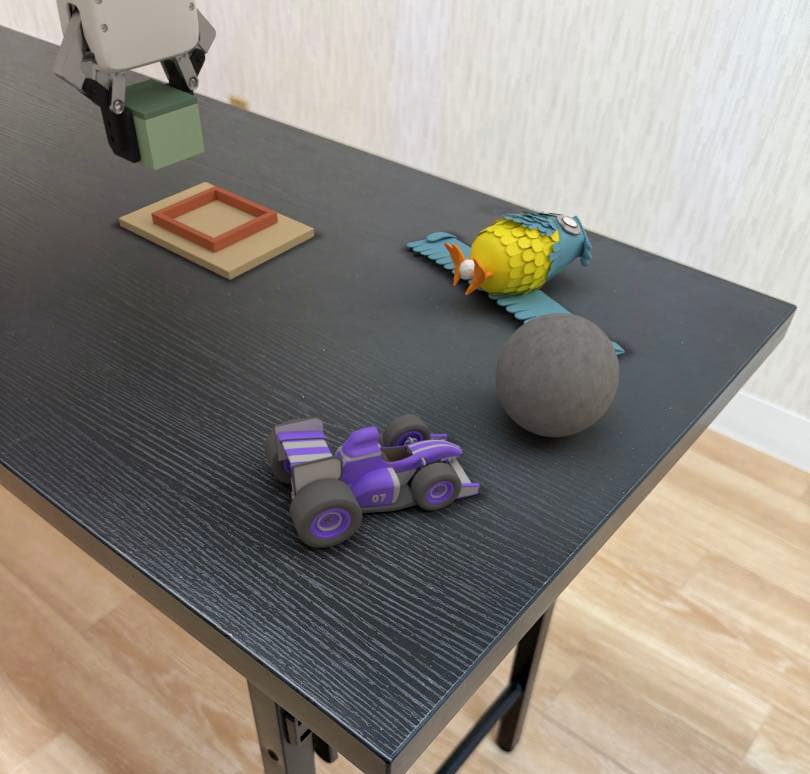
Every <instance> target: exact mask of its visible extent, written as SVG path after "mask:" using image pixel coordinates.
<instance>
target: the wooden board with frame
mask: <svg viewBox="0 0 810 774" xmlns="http://www.w3.org/2000/svg"><path fill="white" fill-rule="evenodd" d="M118 222H119V226H120V227H121V228H123V229H125V230H127V231H129V232H132V233H134V234H135V235H137V236H140V237H142V238H144V239H145V240H148V241H150V242H152V243H153V244H156V245H157V246H159V247H162V248H163V249H166V250H168V251H170V252H172V253H174V254H176V255H178V256H179V257H183V258H184V259H186V260H188V261H191V262H192V263H194V264H196V265H198V266H200V267H202V268H205V269H206V270H209V271H211V272H213V273H215V274H216V275H218V276H221V277H222V278H224V279H227V280H229V281H230V280H233V279H234V278H237V277H239V276H241V275H242V274H244V273H246V272H249V271H250V270H252V269H254V268H256V267H258V266H260V265H262V264H264V263H265V262H267V261H270V260H272V259H273V258H275V257H278V256H279V255H281V254H283V253H285V252H287V251H288V250H290V249H293V248H294V247H296V246H298V245H301V244H303V243H304V242H306V241H308V240H311V239H313V238H314V237H315V229H314V227H311V226H309V225H307V224H304V223H302V222H301V221H300V222H299V221H298V220H295V219H293V218H291V217H288V216H286V215H283V214H281V213H279V212H277V211H276V210H273V209H271V208H268V207H266V206H264V205H261V204H260V203H257V202H254V201H252V200H250V199H248V198H245V197H243V196H240V195H238V194H236V193H234V192H231V191H229V190H227V189H224V188H222V187H220V186H217V185H213V184H211V183H209V182H207V181H203V182H201V183H199V184H197V185H195V186H191V187H190V188H187V189H185V190H182V191H180V192H177V193H175V194H173V195H170V196H167V197H166V198H163V199H161V200H159V201H156V202H154V203H151V204H149V205H147V206H144V207H142V208H139V209H137V210H134V211H132V212H129V213H127V214H125V215H122V216H119V217H118Z"/></svg>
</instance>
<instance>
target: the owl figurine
mask: <svg viewBox="0 0 810 774" xmlns="http://www.w3.org/2000/svg"><path fill="white" fill-rule="evenodd" d="M501 216H503V217H501V218H499V219H497V220H494V221H493V222H492V223H491V225H488V226H487V227H485V228H484V229H482V230H481V231H479V233H478V234H476V235H475V238H474V239H473V241H472V242H471V246H469V245H468V244H465V243H464V242H462V241H460V240H459V239H458V237H457V236H456V235H454V234H452V233H449V232H445V231H436V232H432V233H430V234H428V235H426V237H425V238H423V239H420V240H416V241H412V242H408V243H406V247H407V248H410V249H412V251H413V252H415V253H420V255H423V256H427V258H428V259H429V260H432V261H435V263H436V264H437V265H441V266H443V268H444V269H446V270H449V271H451V270H452V271H451V273H452V274H453V275H454V276H453V284H452V286H453V287H455V286H456V285H457V284H458V283H459V282H460V280H463V281H468V284H469V286H468V287H467V289H466V291H465V293H464V295H465V296H469V295H470V294H471V293H473V292H474V291H476V290H479V291H482V292H486V293H488V298H489V299H491V300H497V301H496V304H497V305H498V306H501V307H505V311H506V312H508V313H510V314H514V316H513V317H514V318H515V319H517V320H519V321H522V320H523V325H524V324H525V323H527V322H528V321H530V320H532V319H534V318H537V317H539V316H542V315H546V314H551V313H568V314H572V313H571V312H570V311H569V310H567V308H565V307H563V306H562V305H561V304H560V303H558V302H557V301H555V300H554V299H552V297H550V296H549V295H547V294H546V293H545V292H543V291H542V290H540V289H541V288H542V287H543V286H544V285H545V284H546V283H549V281H550V280H551V279H552V278H554V277H556V275H558V274H559V273H560V272H561V271H563V270H564V269H565V268H566V267H568V266H569V265H571V263H573V262H574V261H575V260H576V259H577V258H580V264H581V266H582V267H584V268H585V267H588V266H589V265H590V262H589V261H590V260H591V259H592V254H591V252H590V251H591V250H592V249H593V247H592V244H591V242H590V241H589V240H590V238H589V237H588V236H587V232H586V230H585V228H584V226H583V224H582V222H581V220H580V218H579V216H578V215H574V216H572V217H571V216H570V215H565V214H563V213H555V212H548V213H545V212H544V211H539V212H538V213H534V212H531V211H529V210H522V211H521V212H519V213H507V214H501ZM610 341H611V343H612V345H613V347H614V349H615V351H616V355H617V356H620V355H623V354H625V353H626V351H625V350H624V349H623V347H621V346H620V345H619V344H618V343H617V342H615V341H612V340H610Z"/></svg>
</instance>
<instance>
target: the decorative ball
mask: <svg viewBox="0 0 810 774" xmlns="http://www.w3.org/2000/svg"><path fill="white" fill-rule="evenodd" d="M611 341H612V340H611V339H610V338H609V337H608V335H607V334H606V333H605V332H604V330H602V329H601V327H599V326H598V325H597V324H596V323H594V322H592V321H591V320H589V319H587V318H585V317H583V316H580V315H577V314H573V313H571V314H568V313H551V314H546V315H542V316H539V317H537V318H534V319H532V320H530V321H528V322H527V323H525V324H524V323H523V324H522V325H521V326H519V327H518V328H517V329H516V330H515V331H514V332H513V333H512V334H511V335H510V336H509V337H508V339H507V340H506V342H505V343H504V345H503V347H502V348H501V351H500V353H499V356H498V357H497V361H496V368H495V377H494V379H495V388H496V389H495V390H496V393H497V396H498V400H499V402H500V404H501V406H502V408H503V409H504V411H505V413H506V414H507V415H508V417H509V418H510V419H511V420H512V421H513V422H514V423H516V425H518V427H519V426H520V427H521V428H522V429H524V430H525V431H528V432H529V433H532V434H534V435H537V436H540V437H547V438H563V437H570V436H573V435H576V434H578V433H581V432H583V431H584V430H587V429H588V428H590V427H592V426H593V425H594V424H595V423H597V422H598V421H599V420H600V419H602V417H603V416H604V415H605V414H606V412H607V411H608V409H609V408H610V406H611V405H612V404H613V401H614V399H615V397H616V394H617V392H618V391H617V390H618V388H619V383H620V382H619V381H620V364H619V363H620V362H619V358H618V355H616V351H615V349H614V347H613V345H612V343H611Z"/></svg>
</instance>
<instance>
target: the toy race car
mask: <svg viewBox="0 0 810 774" xmlns="http://www.w3.org/2000/svg"><path fill="white" fill-rule="evenodd" d="M323 421H324V420H323V419H322V418H321V417H318V416H313V417H312V416H311V417H307V418H295V419H291V420H287V421H285V422H282V423H280V424H274V425H273V430H272V431H271V432H270V433H269V434H268V436H266V440H265V443H264V455H265V457H266V459H267V462H268V464H269V468H270V469H271V472H272V473H273V475H274V477H275V478H276V479H277V480H279V481H280V482H282V483H284V484H287V485H291V490H292V491H291V492H290V493H291V499H292V500H291V502H290V506H289V515H290V518H291V521H292V523H293V525H294V528H295V530H296V532H297V535H298V537H299V539H300V540H301V541H302V542H303V543H304V544H305V545H307V546H309V547H312V548H316V549H325V548H326V549H327V548H331V547H335V546H337V545H340V544H342V543H344V542H345V541H347V540H349V539H350V538H351V537H352V536H353V535H354V534H355V533H356V532H357V531H358V529H360V526H361V525H362V524H361V523H362V520H363V514H371V513H382V512H383V513H384V512H385V513H386V512H393V511H399V510H404V509H407V508H411V507H414V506H419V507H420V508H422V509H423V510H425V511H438V510H442V509H444V508H446V507H448V506H449V505H451V504H452V503H453V502H455V500H459V499H463V498H467V497H472V496H477V495H479V493H480V488H481V485H480V483H479V482H472V481H471V480H470V478H469V477H468V474H466V472H465V471H464V469H463V466H461V464H460V463H459V461H458V459H457V458H458V457H461V456H463V454H464V451H463V450H462V448H461V446H460V445H458V444H456V443H452V442H451V441H448V440H449V435H448V434H447V433H431V431H430V430H429V428H428V426H427V424H426V423H425V422H424V419H423V418H421V416H419V415H417V414H414V413H413V414H412V413H408V414H403V415H400V416H397V417H395V418H394V419H393V420H391V421H390V422H389V423H387V425H386V426H385V428H384V430H383V433H382V442H383V444H384V447H382V446H381V444H380V443H379V440H380V439H379V438H380V434H379V430H378V428H377V426H375V425H373V426H368V427H364V428H359V429H356V430H354V431H352V432H351V433H350V434H349V436H348V438H347V439H346V440H344V442H342V444H341V445H340V446H338V448H336V451H335V454H334V455H333V453H332V448H331V445H330V444H329V442H328V440H327V438H326V435H325V431H324V430H325V429H324V422H323ZM439 461H440V462H439ZM413 476H414V477H413ZM412 477H413V478H412ZM411 479H412V481H411V482H410V483H411V484H410V485H409V484H408V482H409V481H410V480H411Z"/></svg>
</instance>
